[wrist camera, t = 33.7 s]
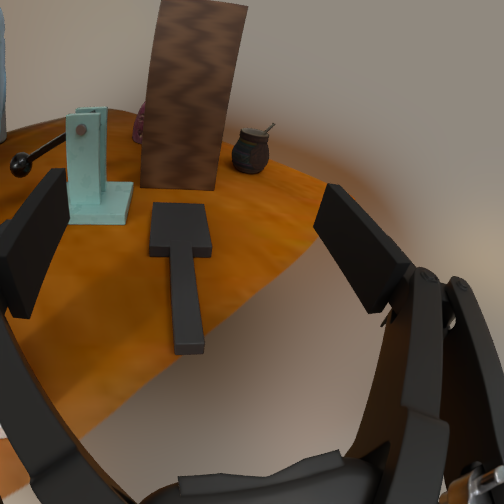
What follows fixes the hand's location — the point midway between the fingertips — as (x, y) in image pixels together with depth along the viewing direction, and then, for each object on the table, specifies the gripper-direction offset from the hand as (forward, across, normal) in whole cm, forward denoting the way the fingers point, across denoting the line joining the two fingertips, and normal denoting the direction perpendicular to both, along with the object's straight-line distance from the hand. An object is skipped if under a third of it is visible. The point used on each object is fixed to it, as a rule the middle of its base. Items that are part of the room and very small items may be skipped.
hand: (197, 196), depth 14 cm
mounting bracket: (+26, -13, -15) cm, 32 cm away
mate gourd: (+43, +14, -15) cm, 48 cm away
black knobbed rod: (+26, -17, -7) cm, 32 cm away
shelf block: (+39, 0, -15) cm, 42 cm away
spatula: (+13, 0, -15) cm, 20 cm away
